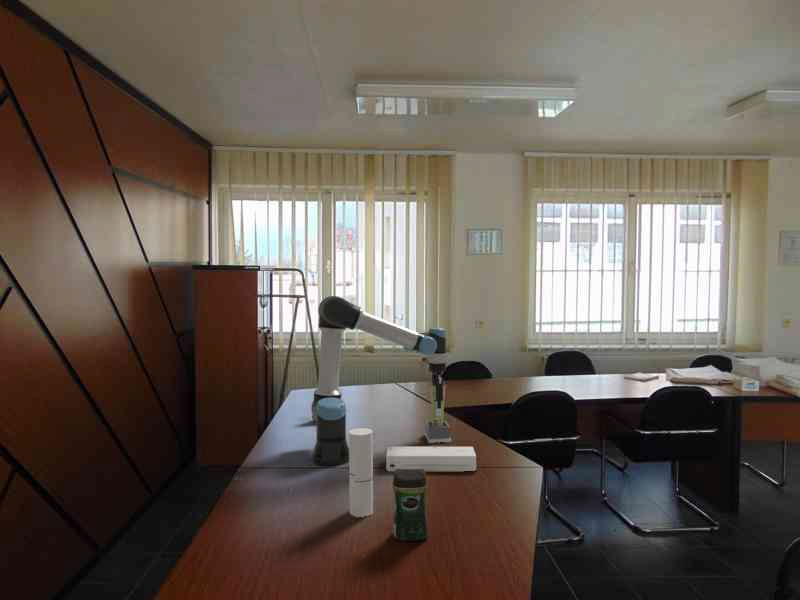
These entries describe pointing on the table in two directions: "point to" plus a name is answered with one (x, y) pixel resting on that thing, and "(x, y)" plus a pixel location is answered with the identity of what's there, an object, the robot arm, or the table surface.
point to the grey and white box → (437, 432)
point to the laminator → (431, 458)
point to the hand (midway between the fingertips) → (437, 413)
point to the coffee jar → (410, 505)
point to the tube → (436, 420)
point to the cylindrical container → (361, 472)
